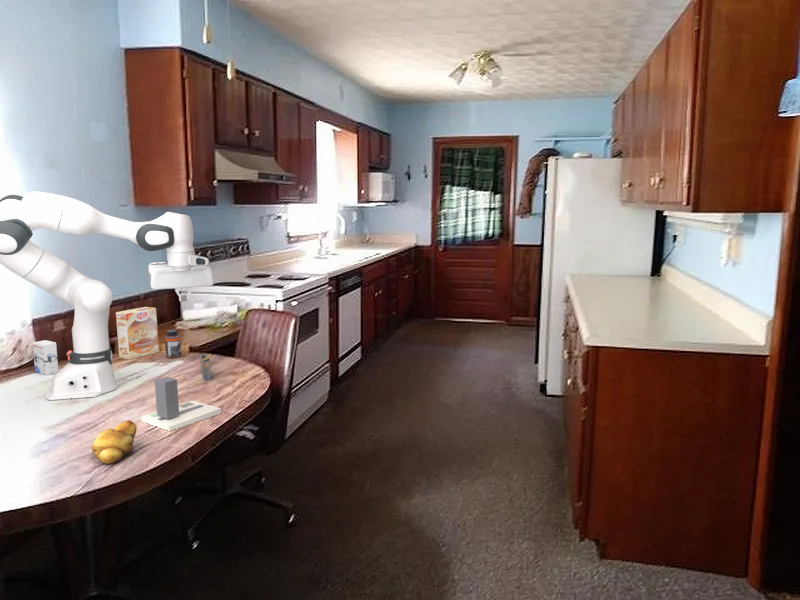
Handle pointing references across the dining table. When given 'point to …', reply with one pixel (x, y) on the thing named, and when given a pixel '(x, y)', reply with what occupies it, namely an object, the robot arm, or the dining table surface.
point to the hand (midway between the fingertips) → (184, 300)
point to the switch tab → (167, 397)
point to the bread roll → (114, 442)
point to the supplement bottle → (172, 344)
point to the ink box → (45, 357)
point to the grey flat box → (205, 366)
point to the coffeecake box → (137, 332)
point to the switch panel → (182, 415)
